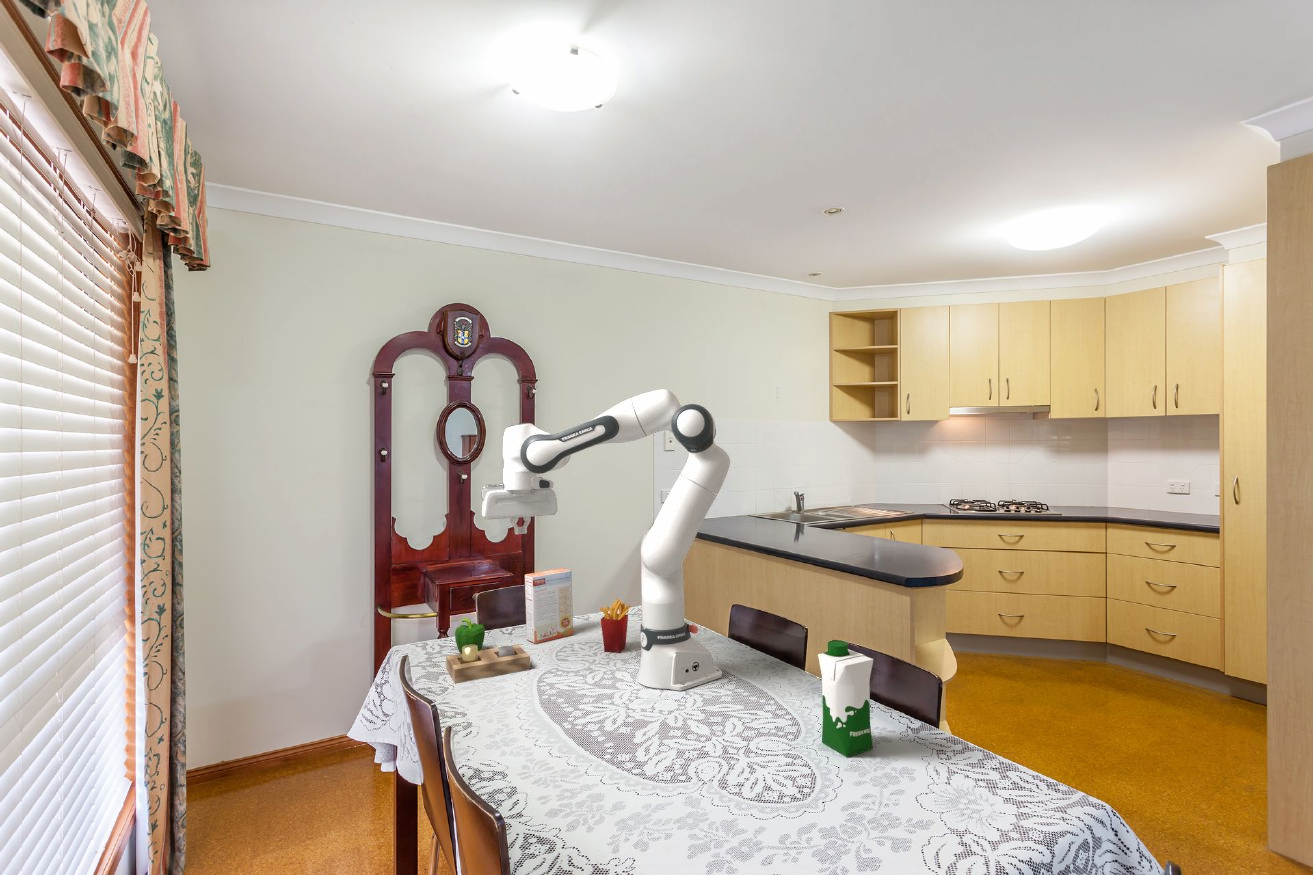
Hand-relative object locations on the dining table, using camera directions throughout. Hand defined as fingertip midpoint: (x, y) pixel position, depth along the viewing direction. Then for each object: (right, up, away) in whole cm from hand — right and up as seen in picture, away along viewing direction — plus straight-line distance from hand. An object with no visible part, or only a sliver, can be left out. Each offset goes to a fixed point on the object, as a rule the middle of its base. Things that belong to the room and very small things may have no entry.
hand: (520, 533), depth 178 cm
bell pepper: (-18, -38, +16) cm, 45 cm away
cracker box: (+3, -37, +30) cm, 48 cm away
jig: (-9, -37, +2) cm, 38 cm away
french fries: (+26, -37, +17) cm, 48 cm away
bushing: (-13, -37, -1) cm, 40 cm away
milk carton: (+75, -36, -47) cm, 95 cm away
